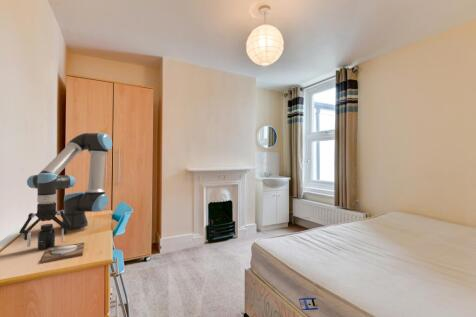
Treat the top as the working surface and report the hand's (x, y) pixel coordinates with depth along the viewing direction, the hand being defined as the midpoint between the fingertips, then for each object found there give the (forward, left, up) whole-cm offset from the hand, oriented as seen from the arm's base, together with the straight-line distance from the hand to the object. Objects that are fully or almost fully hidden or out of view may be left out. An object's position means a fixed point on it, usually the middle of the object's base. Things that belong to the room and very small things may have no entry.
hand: (46, 243), depth 115 cm
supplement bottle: (0, 0, -2) cm, 2 cm away
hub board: (+13, +9, -2) cm, 16 cm away
